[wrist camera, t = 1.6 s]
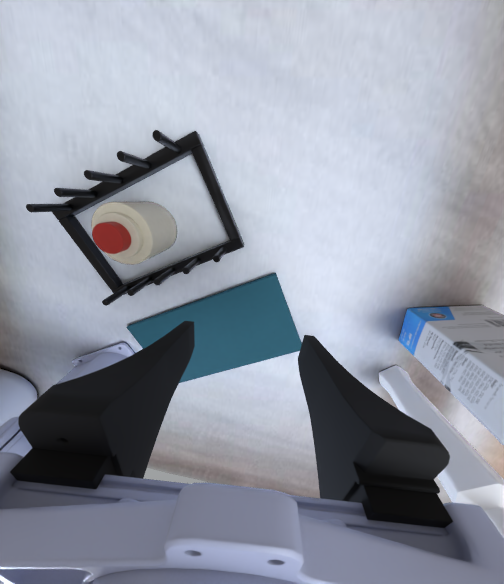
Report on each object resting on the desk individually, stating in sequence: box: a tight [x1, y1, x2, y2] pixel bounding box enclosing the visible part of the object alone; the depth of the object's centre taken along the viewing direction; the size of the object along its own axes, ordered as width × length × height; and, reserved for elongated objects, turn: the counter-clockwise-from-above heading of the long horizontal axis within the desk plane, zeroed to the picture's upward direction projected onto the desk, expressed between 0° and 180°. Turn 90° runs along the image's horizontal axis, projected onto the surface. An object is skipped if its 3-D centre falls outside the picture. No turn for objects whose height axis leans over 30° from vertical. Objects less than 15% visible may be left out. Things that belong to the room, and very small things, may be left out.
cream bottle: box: [91, 202, 177, 265], centre depth 17 cm, size 5×5×7 cm
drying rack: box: [26, 130, 244, 305], centre depth 18 cm, size 16×10×4 cm, turn 112°
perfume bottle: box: [379, 365, 504, 538], centre depth 20 cm, size 5×4×15 cm
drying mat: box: [127, 273, 302, 383], centre depth 25 cm, size 20×11×1 cm, turn 112°
